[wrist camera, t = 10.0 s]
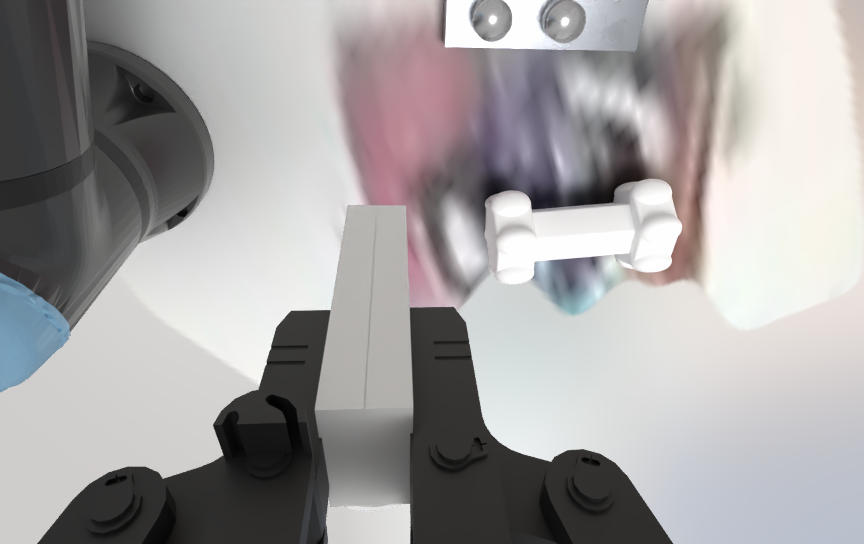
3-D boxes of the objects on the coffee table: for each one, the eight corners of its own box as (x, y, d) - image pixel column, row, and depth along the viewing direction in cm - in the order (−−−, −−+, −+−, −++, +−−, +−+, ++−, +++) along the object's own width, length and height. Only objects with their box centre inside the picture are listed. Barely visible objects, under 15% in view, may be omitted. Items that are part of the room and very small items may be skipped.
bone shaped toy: (482, 248, 49) (495, 307, 43) (483, 170, 43) (499, 226, 37) (633, 235, 49) (667, 292, 43) (654, 156, 43) (697, 209, 37)
